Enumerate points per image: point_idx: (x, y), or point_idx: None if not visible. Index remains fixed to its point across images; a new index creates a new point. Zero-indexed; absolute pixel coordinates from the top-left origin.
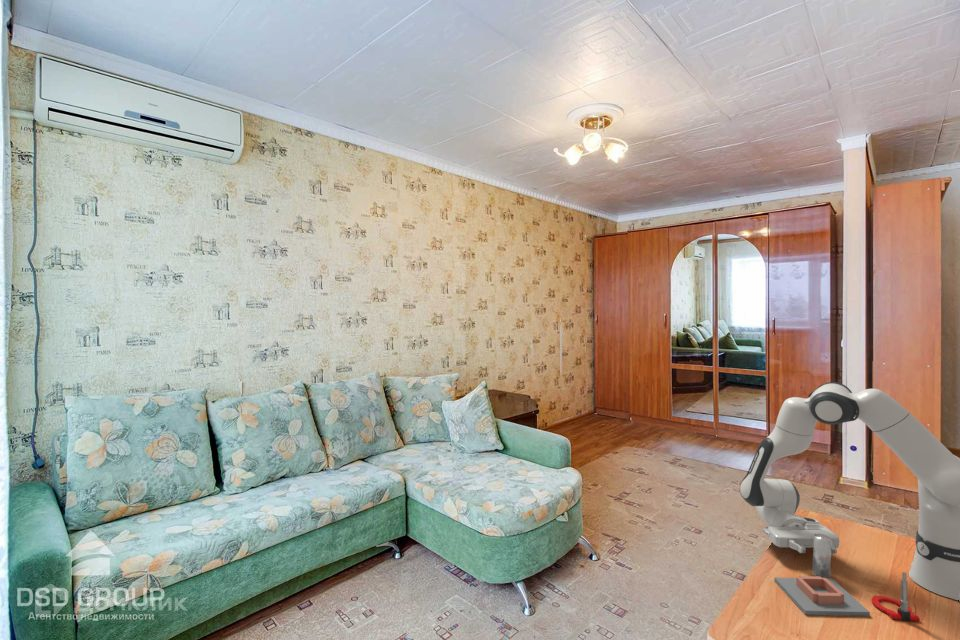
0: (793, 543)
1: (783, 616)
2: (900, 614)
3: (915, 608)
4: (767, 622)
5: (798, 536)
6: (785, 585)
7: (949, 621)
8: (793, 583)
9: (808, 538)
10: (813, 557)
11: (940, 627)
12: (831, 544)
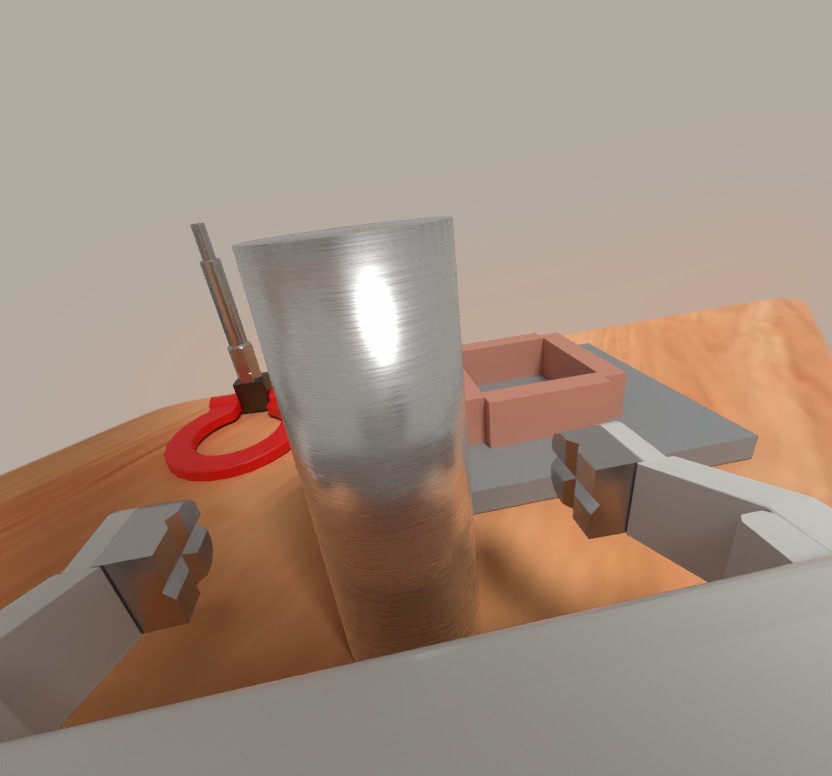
0: (740, 478)
1: (653, 343)
2: (270, 387)
3: (137, 458)
4: (693, 325)
5: (704, 625)
6: (676, 405)
7: (103, 433)
8: (637, 423)
9: (412, 655)
10: (471, 494)
11: (177, 409)
12: (36, 601)
